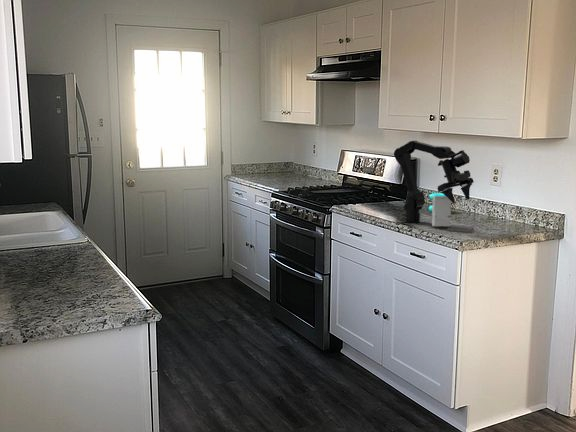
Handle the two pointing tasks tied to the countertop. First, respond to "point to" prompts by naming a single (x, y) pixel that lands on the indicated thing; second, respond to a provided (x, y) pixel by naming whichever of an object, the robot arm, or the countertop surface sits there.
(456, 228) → the mat
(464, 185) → the robot arm
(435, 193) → the donuts
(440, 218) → the skincare box
